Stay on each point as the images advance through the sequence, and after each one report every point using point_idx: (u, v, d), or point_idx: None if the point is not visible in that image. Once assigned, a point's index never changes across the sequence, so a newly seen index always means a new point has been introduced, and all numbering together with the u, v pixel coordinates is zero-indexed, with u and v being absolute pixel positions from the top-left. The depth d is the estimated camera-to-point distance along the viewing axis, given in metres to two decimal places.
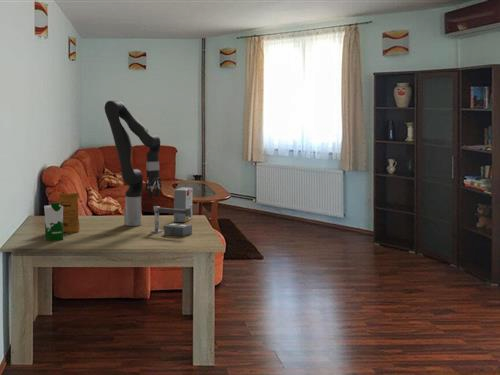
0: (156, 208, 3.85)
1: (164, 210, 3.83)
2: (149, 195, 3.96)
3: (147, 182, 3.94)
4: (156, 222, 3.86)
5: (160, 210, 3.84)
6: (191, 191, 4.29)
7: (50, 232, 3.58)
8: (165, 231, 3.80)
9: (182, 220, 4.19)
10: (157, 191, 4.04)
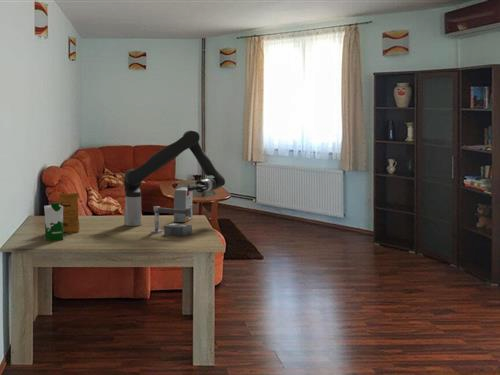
0: (156, 208, 3.85)
1: (164, 210, 3.83)
2: (191, 188, 3.91)
3: (204, 187, 3.95)
4: (156, 222, 3.86)
5: (160, 210, 3.84)
6: (191, 191, 4.29)
7: (50, 232, 3.58)
8: (165, 231, 3.80)
9: (182, 220, 4.19)
10: None
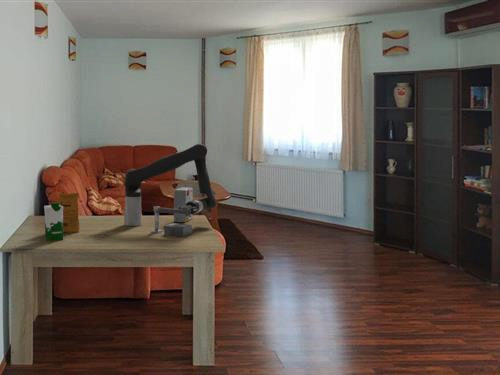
0: (156, 208, 3.85)
1: (164, 210, 3.83)
2: None
3: (194, 209, 3.86)
4: (156, 222, 3.86)
5: (160, 210, 3.84)
6: (191, 191, 4.29)
7: (50, 232, 3.58)
8: (165, 231, 3.80)
9: (182, 220, 4.19)
10: None
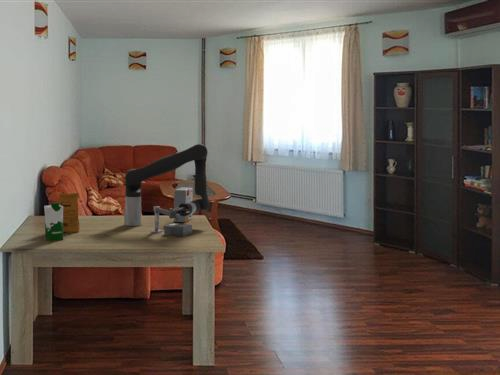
0: (154, 208, 3.85)
1: (159, 211, 3.81)
2: None
3: (187, 211, 3.79)
4: (156, 222, 3.86)
5: (157, 210, 3.84)
6: (191, 191, 4.29)
7: (50, 232, 3.58)
8: (165, 231, 3.80)
9: (182, 220, 4.19)
10: None
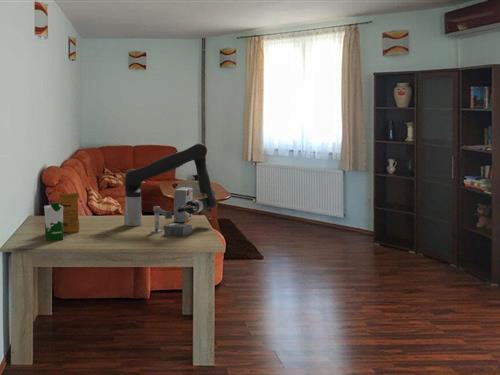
0: (154, 208, 3.85)
1: (158, 211, 3.81)
2: (181, 210, 3.82)
3: (194, 209, 3.86)
4: (156, 222, 3.86)
5: (156, 210, 3.83)
6: (191, 191, 4.29)
7: (50, 232, 3.58)
8: (165, 231, 3.80)
9: (182, 220, 4.19)
10: None
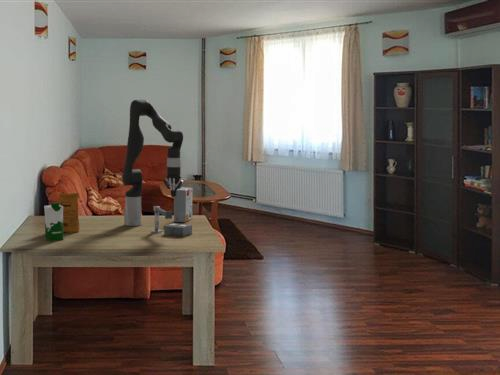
0: (154, 208, 3.85)
1: (158, 211, 3.81)
2: None
3: (182, 183, 3.78)
4: (156, 222, 3.86)
5: (156, 210, 3.83)
6: (191, 191, 4.29)
7: (50, 232, 3.58)
8: (165, 231, 3.80)
9: (182, 220, 4.19)
10: None
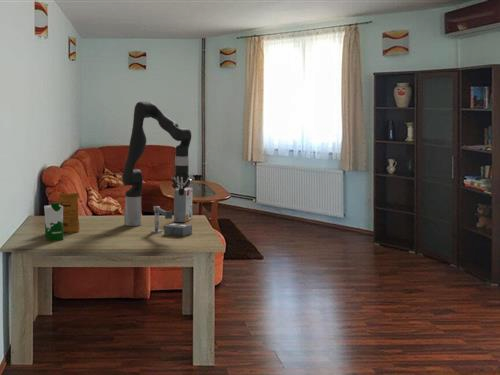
0: (154, 208, 3.85)
1: (158, 211, 3.81)
2: (183, 193, 3.79)
3: (190, 182, 3.76)
4: (156, 222, 3.86)
5: (156, 210, 3.83)
6: (191, 191, 4.29)
7: (50, 232, 3.58)
8: (165, 231, 3.80)
9: (182, 220, 4.19)
10: None
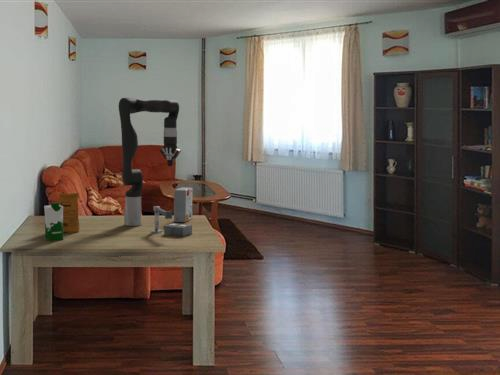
0: (154, 208, 3.85)
1: (158, 211, 3.81)
2: (171, 163, 3.88)
3: (178, 152, 3.86)
4: (156, 222, 3.86)
5: (156, 210, 3.83)
6: (191, 191, 4.29)
7: (50, 232, 3.58)
8: (165, 231, 3.80)
9: (182, 220, 4.19)
10: None
